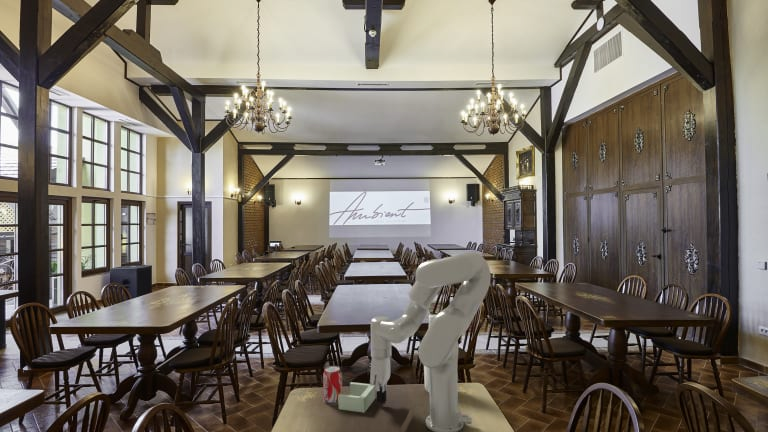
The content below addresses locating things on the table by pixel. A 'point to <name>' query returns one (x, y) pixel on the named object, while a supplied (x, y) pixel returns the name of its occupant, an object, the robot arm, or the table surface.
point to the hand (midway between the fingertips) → (381, 401)
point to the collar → (357, 397)
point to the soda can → (332, 384)
